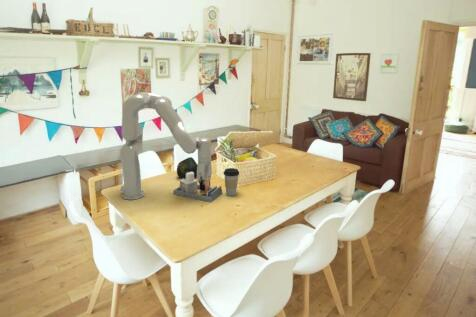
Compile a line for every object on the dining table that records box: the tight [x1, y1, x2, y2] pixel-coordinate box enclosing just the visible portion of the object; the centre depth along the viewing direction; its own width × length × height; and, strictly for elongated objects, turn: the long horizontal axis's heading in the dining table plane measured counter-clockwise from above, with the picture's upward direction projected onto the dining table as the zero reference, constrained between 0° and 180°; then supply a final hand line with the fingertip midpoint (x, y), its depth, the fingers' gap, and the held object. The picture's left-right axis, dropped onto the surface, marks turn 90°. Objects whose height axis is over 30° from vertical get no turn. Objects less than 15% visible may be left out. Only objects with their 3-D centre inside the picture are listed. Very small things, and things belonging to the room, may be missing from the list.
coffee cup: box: [222, 167, 240, 197], centre depth 191 cm, size 9×9×15 cm
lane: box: [172, 184, 223, 203], centre depth 191 cm, size 26×14×5 cm, turn 66°
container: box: [179, 171, 199, 194], centre depth 193 cm, size 8×8×13 cm
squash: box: [176, 156, 198, 179], centre depth 216 cm, size 14×15×15 cm
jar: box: [199, 177, 211, 194], centre depth 188 cm, size 6×6×9 cm
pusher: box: [205, 185, 218, 197], centre depth 188 cm, size 1×11×5 cm, turn 156°
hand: (205, 188), depth 189 cm, fingers closed on jar, 5 cm apart
